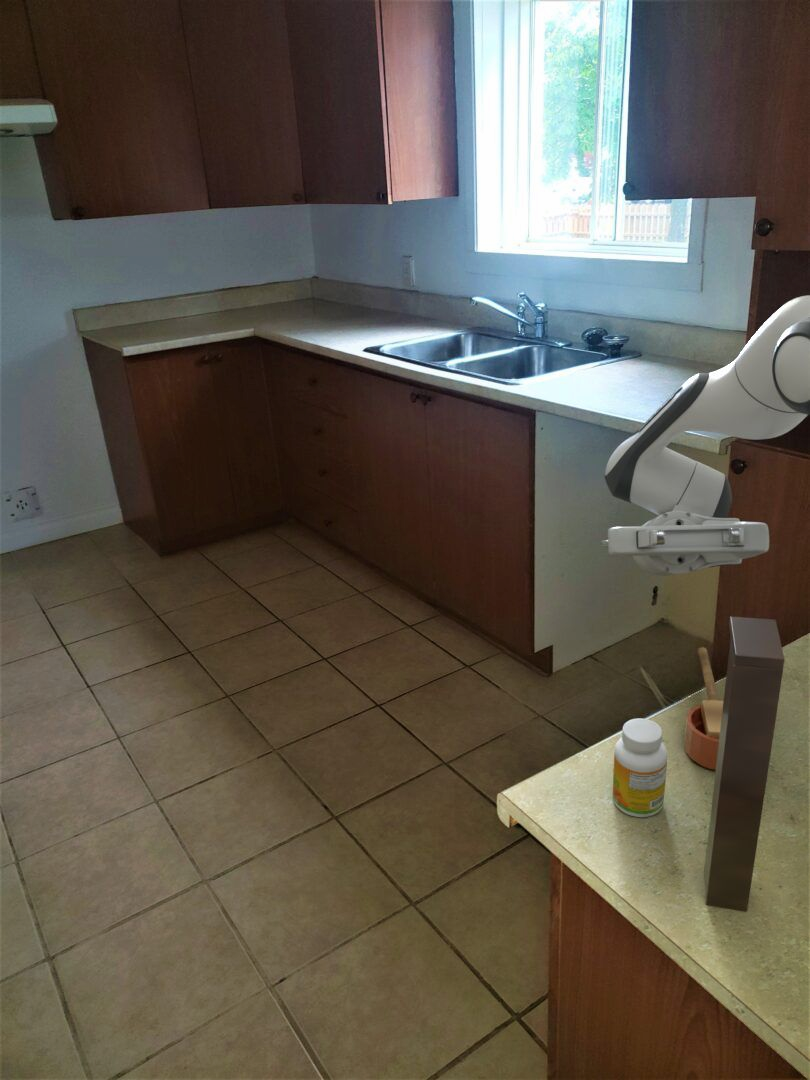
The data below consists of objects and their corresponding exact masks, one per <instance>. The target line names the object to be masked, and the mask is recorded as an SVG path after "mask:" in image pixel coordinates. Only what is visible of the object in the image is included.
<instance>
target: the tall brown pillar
mask: <svg viewBox="0 0 810 1080" xmlns="http://www.w3.org/2000/svg"><path fill="white" fill-rule="evenodd" d="M728 628H729V635H730V640H729V648H728V649H729V651H728V658H727V667H726V676H725V683H724V684H725V686H724V693H723V701H724V702H723V710H722V719H721V728H720V737H719V746H718V754H717V763H716V770H715V772H714V773H715V774H714V782H713V790H712V799H711V808H710V816H709V826H708V833H707V834H708V835H707V842H706V843H707V844H706V852H705V861H704V869H703V875H704V893H705V895H704V896H705V905H706V906H711V907H718V908H722V909H729V910H735V911H740V912H741V911H742V912H745V913H746V912H748V908H749V901H750V894H751V890H752V889H751V887H752V882H753V881H752V880H753V875H754V867H755V862H756V861H755V860H756V855H757V848H758V843H759V841H758V840H759V835H760V829H761V821H762V816H763V815H762V814H763V808H764V799H765V793H766V787H767V781H768V775H769V767H770V760H771V754H772V747H773V741H774V734H775V727H776V722H777V721H776V720H777V714H778V706H779V701H780V693H781V687H782V679H783V675H784V674H783V673H784V666H785V655H784V651H783V647H782V642H781V638H780V637H781V636H780V633H779V629H778V625H777V620H776V619H770V618H756V617H743V616H730V617H729V623H728Z"/></svg>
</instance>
